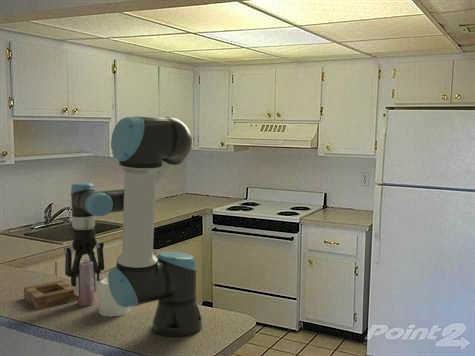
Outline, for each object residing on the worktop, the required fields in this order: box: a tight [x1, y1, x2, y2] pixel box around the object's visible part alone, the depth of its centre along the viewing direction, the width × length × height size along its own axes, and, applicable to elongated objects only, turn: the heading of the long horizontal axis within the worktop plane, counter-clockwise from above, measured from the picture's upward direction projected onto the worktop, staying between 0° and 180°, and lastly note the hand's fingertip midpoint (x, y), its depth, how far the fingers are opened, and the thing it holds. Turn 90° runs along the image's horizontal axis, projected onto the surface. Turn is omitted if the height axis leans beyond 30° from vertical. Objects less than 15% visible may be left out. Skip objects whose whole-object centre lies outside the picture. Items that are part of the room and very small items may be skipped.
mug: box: [97, 276, 131, 318], centre depth 174 cm, size 14×10×11 cm
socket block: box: [23, 279, 77, 310], centre depth 184 cm, size 14×14×4 cm
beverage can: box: [76, 259, 96, 307], centre depth 179 cm, size 6×6×15 cm
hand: (85, 292), depth 179 cm, fingers closed on beverage can, 6 cm apart
